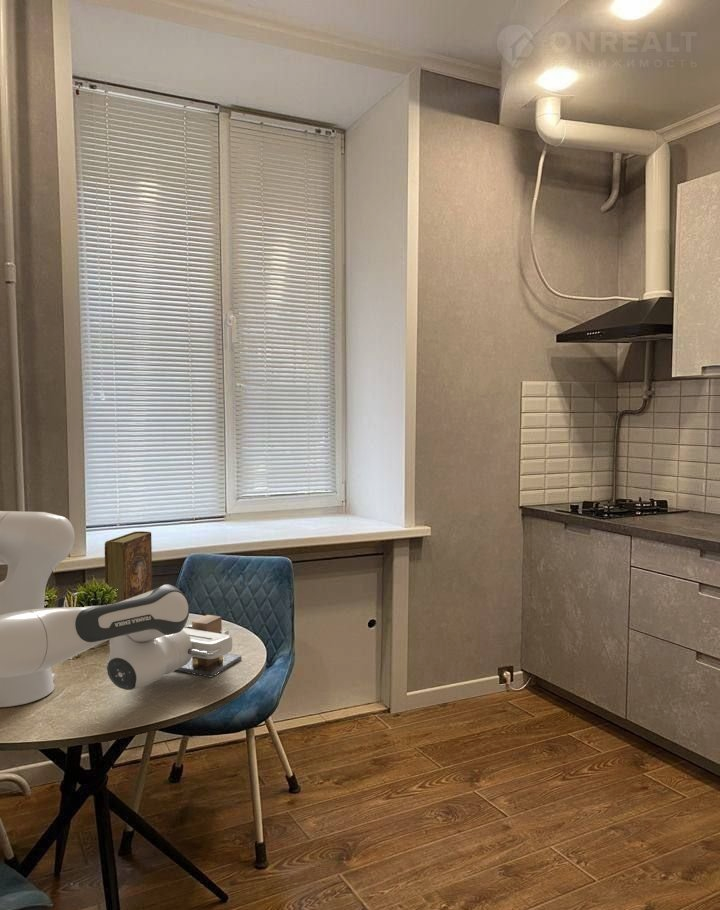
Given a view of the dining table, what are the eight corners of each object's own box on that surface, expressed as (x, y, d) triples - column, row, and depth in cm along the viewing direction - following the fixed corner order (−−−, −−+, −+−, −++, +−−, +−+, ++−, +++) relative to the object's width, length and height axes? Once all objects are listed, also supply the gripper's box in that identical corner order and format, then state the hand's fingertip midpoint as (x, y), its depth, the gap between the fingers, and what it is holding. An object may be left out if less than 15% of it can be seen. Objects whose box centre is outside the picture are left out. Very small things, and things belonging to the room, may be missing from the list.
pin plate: (172, 669, 161) (172, 657, 161) (203, 653, 172) (203, 641, 172) (211, 677, 157) (211, 664, 156) (241, 659, 168) (241, 647, 167)
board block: (192, 663, 162) (192, 621, 161) (208, 655, 168) (207, 614, 167) (206, 666, 161) (206, 623, 160) (221, 657, 166) (221, 616, 165)
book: (137, 615, 202) (136, 531, 200) (154, 617, 201) (153, 531, 199) (106, 633, 186) (104, 541, 184) (124, 635, 185) (123, 542, 183)
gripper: (211, 641, 147) (246, 623, 160) (135, 628, 156) (174, 612, 168) (211, 670, 148) (246, 650, 161) (135, 656, 156) (175, 637, 169)
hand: (209, 630), depth 164 cm, fingers open, 8 cm apart
